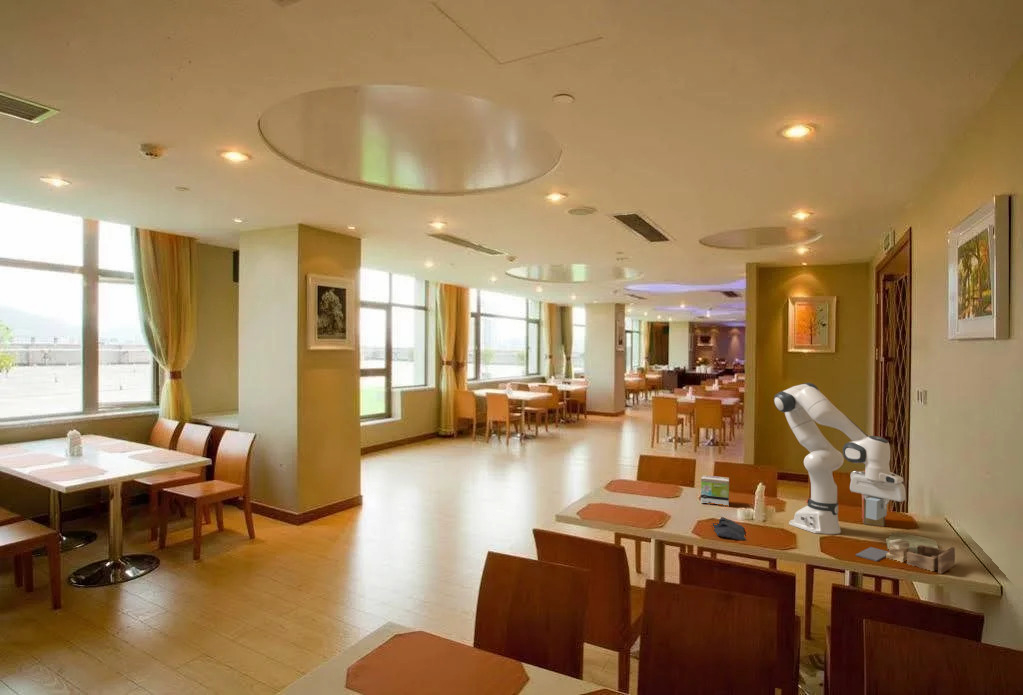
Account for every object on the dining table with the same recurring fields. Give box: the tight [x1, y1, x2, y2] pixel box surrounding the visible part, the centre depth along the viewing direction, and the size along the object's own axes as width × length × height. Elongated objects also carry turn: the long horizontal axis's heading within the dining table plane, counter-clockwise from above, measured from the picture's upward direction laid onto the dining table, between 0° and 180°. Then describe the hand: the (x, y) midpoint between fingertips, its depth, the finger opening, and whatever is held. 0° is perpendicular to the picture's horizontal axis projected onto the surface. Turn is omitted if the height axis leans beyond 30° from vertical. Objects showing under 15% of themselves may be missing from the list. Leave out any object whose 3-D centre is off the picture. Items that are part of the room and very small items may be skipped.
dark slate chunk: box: [712, 516, 747, 541], centre depth 262 cm, size 15×22×5 cm
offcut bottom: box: [885, 551, 907, 563], centre depth 231 cm, size 6×10×2 cm, turn 126°
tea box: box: [700, 474, 730, 506], centre depth 312 cm, size 15×10×15 cm
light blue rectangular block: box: [866, 496, 888, 520], centre depth 234 cm, size 4×11×8 cm, turn 127°
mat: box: [855, 546, 889, 562], centre depth 234 cm, size 8×15×1 cm, turn 126°
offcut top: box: [890, 539, 909, 550], centre depth 231 cm, size 4×6×2 cm, turn 108°
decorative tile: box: [885, 532, 939, 554], centre depth 243 cm, size 19×20×4 cm
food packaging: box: [861, 469, 886, 528], centre depth 279 cm, size 13×9×25 cm
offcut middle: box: [888, 547, 909, 557], centre depth 231 cm, size 5×8×2 cm, turn 130°
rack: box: [906, 544, 956, 575], centre depth 223 cm, size 12×16×7 cm
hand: (876, 506), depth 234 cm, fingers closed on light blue rectangular block, 4 cm apart
